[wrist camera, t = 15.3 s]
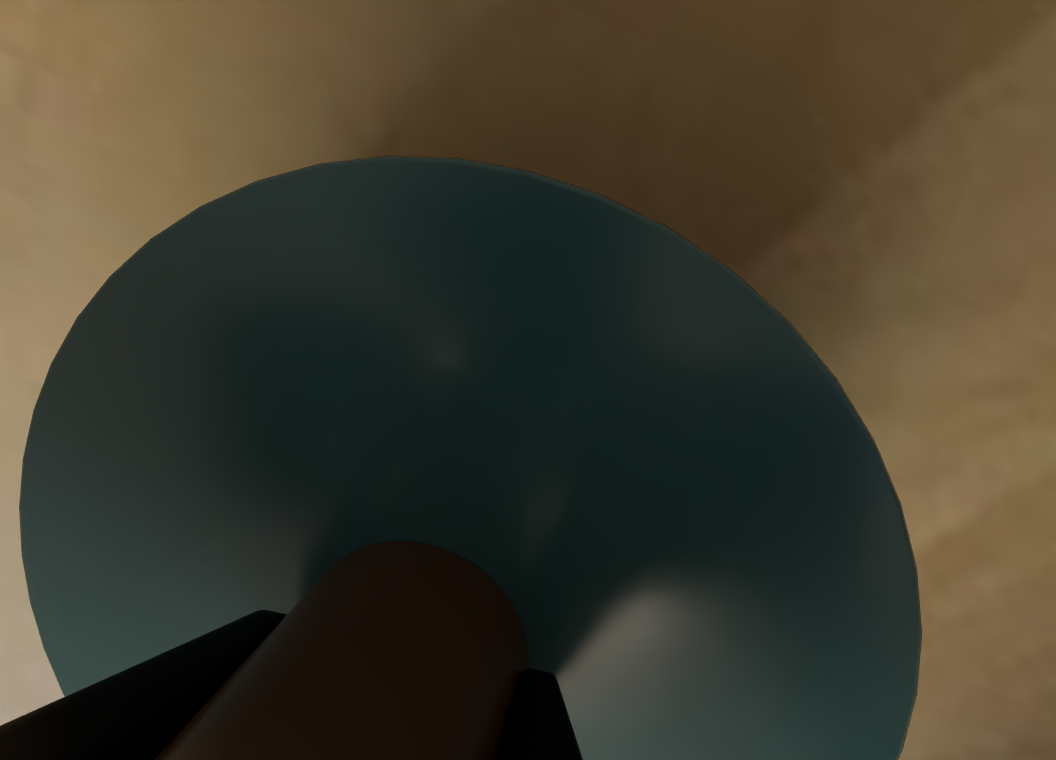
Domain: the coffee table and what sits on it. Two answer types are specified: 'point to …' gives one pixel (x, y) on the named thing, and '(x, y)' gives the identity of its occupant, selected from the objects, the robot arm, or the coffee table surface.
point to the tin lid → (466, 482)
